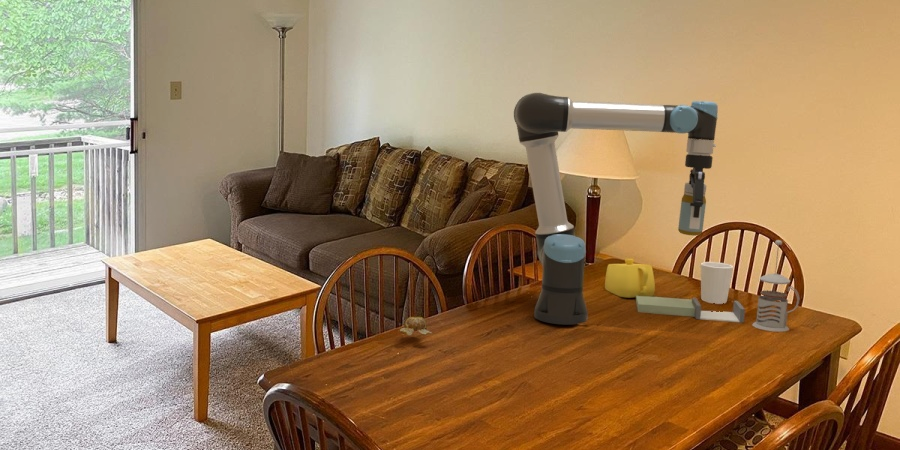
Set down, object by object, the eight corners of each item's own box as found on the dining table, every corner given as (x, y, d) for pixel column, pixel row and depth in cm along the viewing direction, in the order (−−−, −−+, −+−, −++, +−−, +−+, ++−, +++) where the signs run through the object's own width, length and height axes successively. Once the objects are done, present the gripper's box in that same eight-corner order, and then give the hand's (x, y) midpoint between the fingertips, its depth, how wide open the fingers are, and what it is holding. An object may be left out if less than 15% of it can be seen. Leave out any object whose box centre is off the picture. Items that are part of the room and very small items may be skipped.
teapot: (594, 293, 262) (594, 257, 261) (625, 291, 266) (625, 256, 266) (630, 298, 243) (629, 260, 243) (663, 296, 248) (662, 259, 248)
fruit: (400, 335, 200) (400, 320, 199) (398, 328, 208) (399, 314, 207) (432, 335, 200) (433, 320, 200) (430, 328, 209) (430, 314, 208)
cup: (736, 306, 249) (740, 266, 247) (716, 309, 243) (720, 268, 241) (710, 299, 257) (713, 260, 255) (690, 302, 251) (693, 263, 249)
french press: (757, 320, 231) (765, 236, 228) (799, 327, 224) (808, 241, 221) (748, 327, 223) (756, 239, 220) (791, 334, 216) (800, 245, 213)
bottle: (703, 236, 235) (709, 187, 232) (678, 234, 236) (684, 185, 233) (700, 231, 242) (706, 183, 238) (677, 229, 243) (682, 181, 240)
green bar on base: (638, 314, 233) (639, 301, 232) (635, 303, 247) (636, 290, 246) (743, 322, 228) (745, 309, 227) (734, 310, 242) (735, 297, 242)
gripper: (718, 157, 219) (710, 232, 222) (707, 153, 243) (699, 221, 246) (690, 155, 221) (682, 230, 224) (682, 152, 245) (675, 219, 248)
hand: (691, 225), depth 235 cm, fingers open, 13 cm apart
